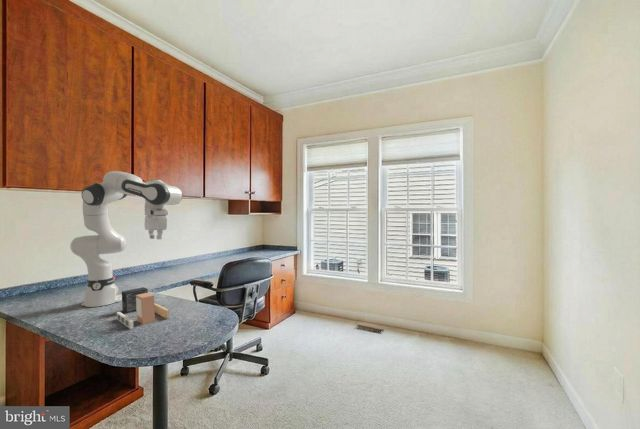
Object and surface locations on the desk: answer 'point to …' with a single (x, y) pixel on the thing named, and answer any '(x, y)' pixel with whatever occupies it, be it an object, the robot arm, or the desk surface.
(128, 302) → the small box
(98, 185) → the robot arm
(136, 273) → the desk surface
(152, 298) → the carton
